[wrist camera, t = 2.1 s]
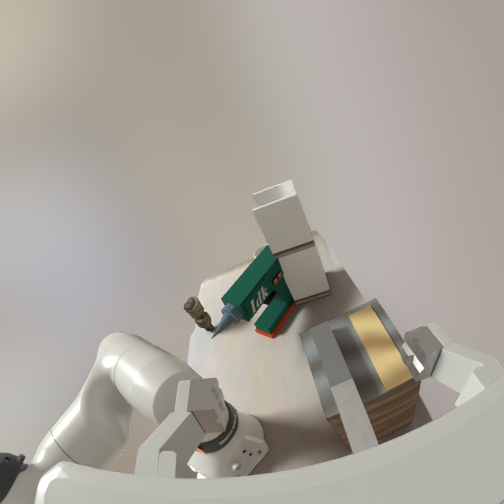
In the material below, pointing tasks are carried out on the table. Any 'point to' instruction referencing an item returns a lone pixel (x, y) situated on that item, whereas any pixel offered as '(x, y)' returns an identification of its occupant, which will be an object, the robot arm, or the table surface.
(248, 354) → the table surface
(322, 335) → the brushed metal bar
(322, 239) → the table surface
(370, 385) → the stand
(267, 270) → the power tool
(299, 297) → the white cradle pedestal
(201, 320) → the brown carved figurine
